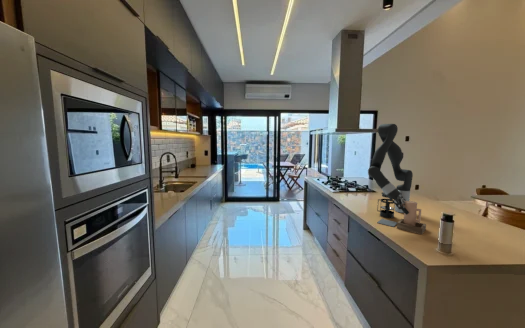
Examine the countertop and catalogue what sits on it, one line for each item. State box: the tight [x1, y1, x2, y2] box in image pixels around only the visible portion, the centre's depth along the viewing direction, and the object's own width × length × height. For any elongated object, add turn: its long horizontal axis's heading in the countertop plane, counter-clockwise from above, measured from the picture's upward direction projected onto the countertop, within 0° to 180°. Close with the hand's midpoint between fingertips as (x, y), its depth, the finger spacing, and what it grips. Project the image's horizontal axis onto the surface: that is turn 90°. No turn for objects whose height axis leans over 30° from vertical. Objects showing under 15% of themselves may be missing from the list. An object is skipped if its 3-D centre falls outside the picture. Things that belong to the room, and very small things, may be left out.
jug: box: [403, 200, 422, 226], centre depth 141 cm, size 6×9×17 cm
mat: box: [376, 218, 398, 228], centre depth 151 cm, size 10×10×1 cm
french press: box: [376, 191, 395, 219], centre depth 165 cm, size 12×9×23 cm
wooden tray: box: [396, 218, 427, 235], centre depth 142 cm, size 11×13×4 cm
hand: (409, 212), depth 142 cm, fingers open, 8 cm apart
